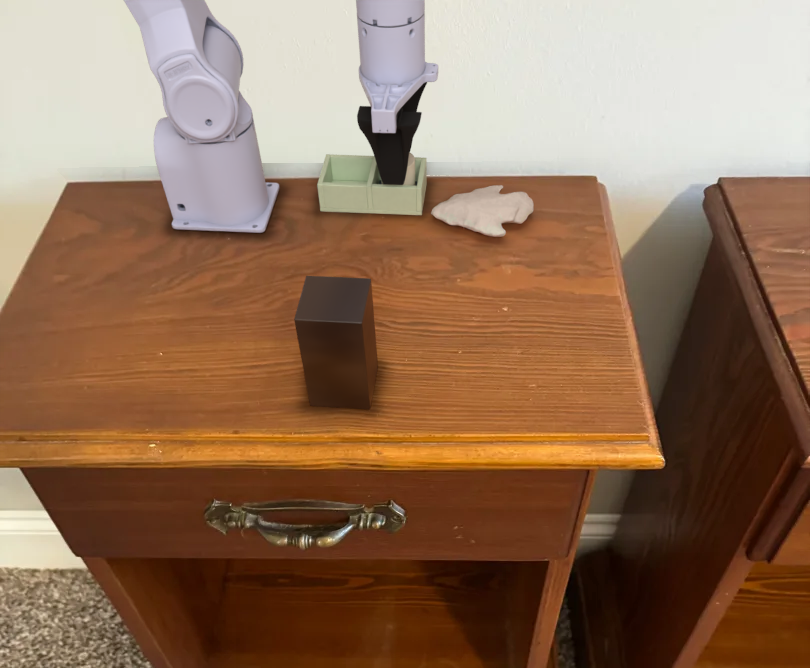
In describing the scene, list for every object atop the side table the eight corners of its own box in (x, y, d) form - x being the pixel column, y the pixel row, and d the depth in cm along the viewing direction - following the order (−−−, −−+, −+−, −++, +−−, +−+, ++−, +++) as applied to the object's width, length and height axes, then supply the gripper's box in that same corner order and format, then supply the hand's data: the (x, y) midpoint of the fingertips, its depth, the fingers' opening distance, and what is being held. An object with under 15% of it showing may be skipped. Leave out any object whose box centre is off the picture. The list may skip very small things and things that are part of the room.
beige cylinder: (380, 202, 78) (378, 168, 75) (384, 183, 80) (382, 148, 77) (413, 203, 77) (413, 169, 74) (417, 184, 79) (416, 150, 76)
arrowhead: (530, 199, 79) (432, 192, 79) (534, 175, 77) (434, 168, 77) (531, 249, 75) (428, 241, 75) (536, 226, 72) (429, 218, 73)
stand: (310, 406, 63) (293, 319, 56) (320, 363, 66) (306, 275, 59) (370, 409, 63) (362, 322, 55) (378, 366, 66) (371, 278, 58)
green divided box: (320, 211, 78) (316, 184, 76) (329, 180, 81) (325, 154, 79) (421, 215, 77) (421, 188, 75) (426, 184, 80) (426, 157, 78)
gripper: (430, 55, 61) (430, 212, 72) (445, -25, 68) (443, 128, 80) (341, 53, 61) (355, 209, 72) (366, -26, 69) (375, 126, 80)
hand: (396, 166), depth 76 cm, fingers open, 5 cm apart
